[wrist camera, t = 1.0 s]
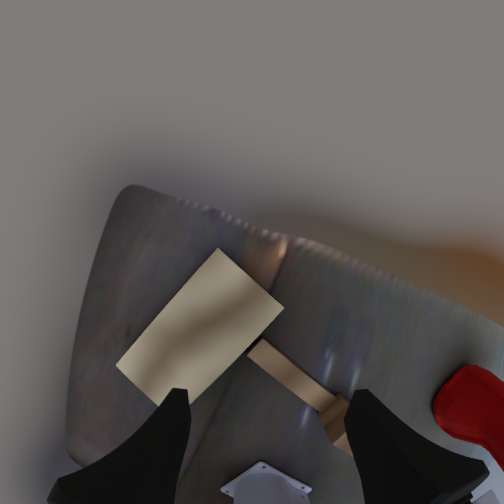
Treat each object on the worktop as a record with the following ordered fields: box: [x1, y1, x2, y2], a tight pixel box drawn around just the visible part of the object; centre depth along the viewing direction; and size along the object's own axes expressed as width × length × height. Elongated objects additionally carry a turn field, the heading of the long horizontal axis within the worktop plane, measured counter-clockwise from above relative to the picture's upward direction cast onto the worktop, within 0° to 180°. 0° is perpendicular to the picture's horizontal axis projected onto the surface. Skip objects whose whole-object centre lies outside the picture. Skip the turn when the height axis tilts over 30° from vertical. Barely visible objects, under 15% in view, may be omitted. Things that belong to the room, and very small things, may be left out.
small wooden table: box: [116, 248, 284, 406], centre depth 26 cm, size 8×16×4 cm, turn 138°
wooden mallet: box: [247, 337, 353, 456], centre depth 24 cm, size 15×4×7 cm, turn 48°
